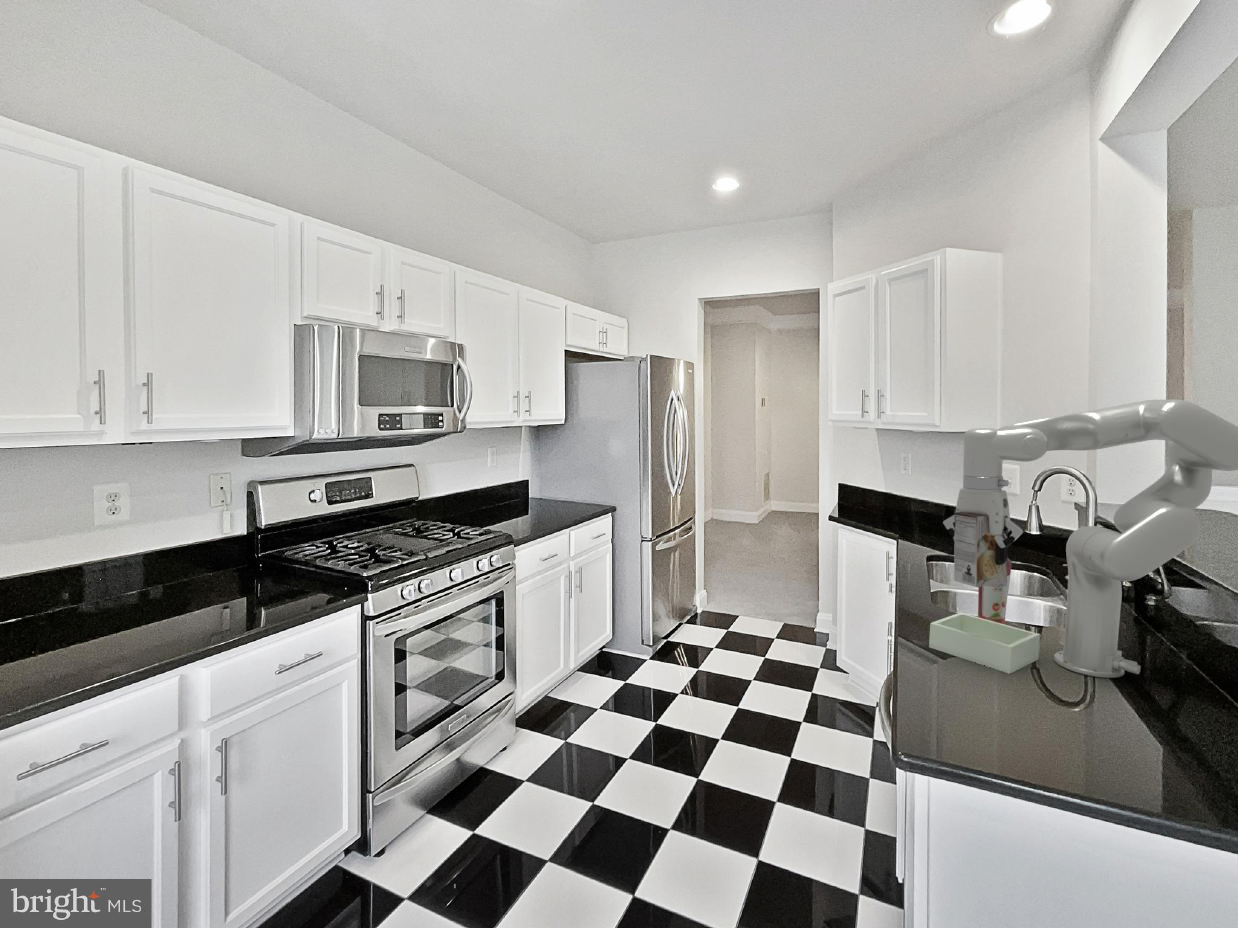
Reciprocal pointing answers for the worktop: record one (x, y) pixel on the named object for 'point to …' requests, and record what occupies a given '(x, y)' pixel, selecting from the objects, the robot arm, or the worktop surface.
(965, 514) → the coffee box
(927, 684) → the worktop surface
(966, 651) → the bin
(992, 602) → the liquor
